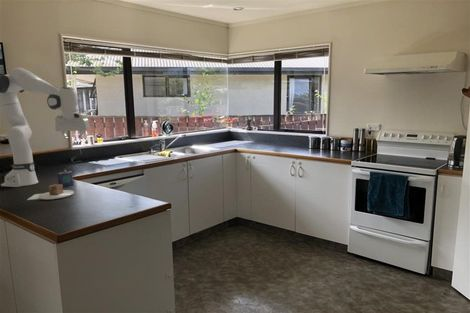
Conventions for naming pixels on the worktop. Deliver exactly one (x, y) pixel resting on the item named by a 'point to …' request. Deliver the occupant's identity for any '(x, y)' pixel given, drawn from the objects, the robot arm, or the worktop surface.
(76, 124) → the robot arm
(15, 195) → the worktop surface
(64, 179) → the flask
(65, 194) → the plate
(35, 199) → the napkin
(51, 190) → the block
